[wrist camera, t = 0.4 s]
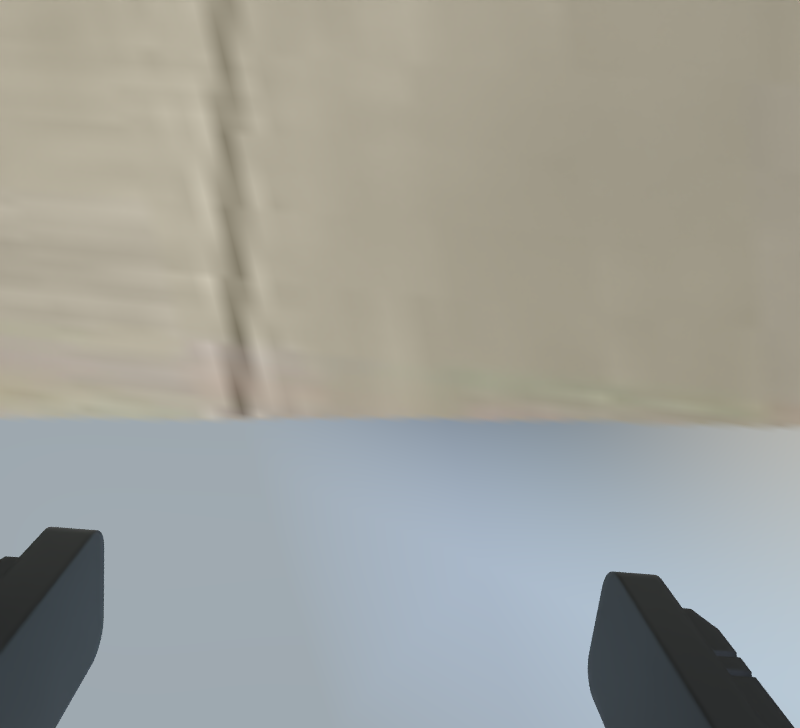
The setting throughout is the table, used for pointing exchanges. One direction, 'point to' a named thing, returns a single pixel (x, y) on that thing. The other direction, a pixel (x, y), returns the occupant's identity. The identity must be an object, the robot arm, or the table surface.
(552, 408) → the table surface
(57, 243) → the table surface
